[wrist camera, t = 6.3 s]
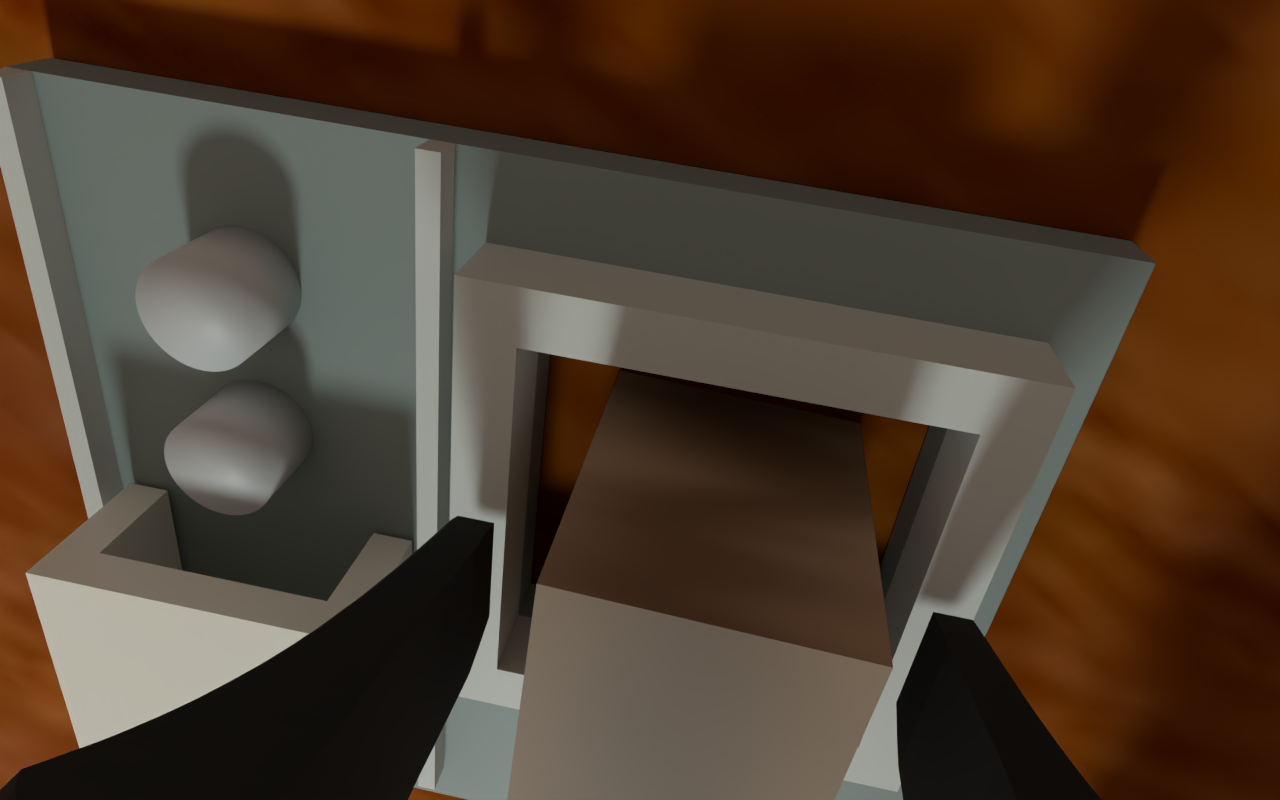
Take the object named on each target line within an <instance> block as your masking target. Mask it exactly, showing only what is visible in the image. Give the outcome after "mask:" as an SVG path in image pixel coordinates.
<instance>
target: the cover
mask: <svg viewBox="0 0 1280 800" xmlns="http://www.w3.org/2000/svg"><path fill="white" fill-rule="evenodd" d="M411 555H412V541H410V540H405V539H401V538H396V537H391V536H386V535H381V534H376V533H373V535H372V536H371V538H370V539H369V541H368V542H367V544H366V545H365V547H364V548H363V549H362V551H361V552H360V554H359V555H358V557H357V558H356V560H355V561H354V563H353V564H352V566H351V567H350V568H349V570H348V571H347V573H346V574H345V576H344V577H343V579H342V580H341V582H340V583H339V585H338V586H337V588H336V589H335V590H334V592H333V593H332V595H331V596H330V598H329V599H328V601H324V600H319V599H314V598H310V597H305V596H300V595H295V594H291V593H286V592H281V591H277V590H272V589H267V588H262V587H258V586H253V585H248V584H244V583H239V582H234V581H229V580H225V579H220V578H215V577H211V576H206V575H201V574H196V573H192V572H187V571H182V566H181V560H180V555H179V550H178V544H177V539H176V533H175V528H174V523H173V517H172V512H171V507H170V501H169V496H168V491H167V490H162V489H157V488H152V487H147V486H142V485H138V484H133V483H130V484H129V485H128V486H127V487H126V488H124V489H123V490H122V491H121V492H120V493H119V494H117V495H116V496H115V497H114V498H113V499H112V500H110V501H109V502H108V503H107V504H106V505H104V506H103V507H102V508H101V509H100V510H99V511H97V512H96V513H95V514H94V515H93V516H92V517H90V518H89V519H88V520H87V521H86V522H84V523H83V524H82V525H81V526H80V527H79V528H77V529H76V530H75V531H74V532H73V533H72V534H70V535H69V536H68V537H67V538H66V539H65V540H63V541H62V542H61V543H60V544H59V545H57V546H56V547H55V548H54V549H53V550H52V551H50V552H49V553H48V554H47V555H46V556H45V557H43V558H42V559H41V560H40V561H39V562H37V563H36V564H35V565H34V566H33V567H32V568H30V569H29V570H28V571H27V572H26V576H27V579H28V583H29V586H30V589H31V592H32V595H33V599H34V602H35V605H36V608H37V612H38V615H39V618H40V621H41V625H42V628H43V631H44V634H45V638H46V641H47V644H48V647H49V651H50V654H51V657H52V660H53V663H54V667H55V670H56V673H57V676H58V680H59V683H60V686H61V689H62V693H63V696H64V699H65V702H66V706H67V709H68V712H69V715H70V719H71V722H72V725H73V728H74V731H75V735H76V738H77V741H78V744H79V748H82V747H85V746H88V745H90V744H93V743H96V742H98V741H101V740H104V739H106V738H109V737H111V736H114V735H116V734H119V733H121V732H124V731H126V730H128V729H131V728H133V727H135V726H138V725H140V724H142V723H145V722H147V721H149V720H152V719H154V718H156V717H159V716H161V715H163V714H165V713H167V712H170V711H172V710H174V709H176V708H178V707H180V706H183V705H185V704H187V703H189V702H191V701H193V700H195V699H197V698H199V697H201V696H203V695H205V694H207V693H209V692H211V691H212V690H214V689H216V688H218V687H220V686H222V685H224V684H226V683H228V682H230V681H231V680H233V679H235V678H237V677H239V676H240V675H242V674H244V673H246V672H248V671H249V670H251V669H253V668H255V667H257V666H258V665H260V664H262V663H263V662H265V661H267V660H268V659H270V658H272V657H273V656H275V655H277V654H278V653H280V652H281V651H283V650H285V649H286V648H288V647H290V646H291V645H293V644H294V643H296V642H297V641H299V640H300V639H302V638H303V637H305V636H306V635H308V634H309V633H311V632H312V631H314V630H315V629H317V628H318V627H320V626H321V625H322V624H324V623H325V622H327V621H328V620H329V619H331V618H332V617H333V616H335V615H336V614H337V613H339V612H340V611H342V610H343V609H344V608H346V607H347V606H348V605H350V604H351V603H353V602H354V601H355V600H357V599H358V598H359V597H361V596H362V595H363V594H365V593H366V592H367V591H368V590H370V589H371V588H372V587H373V586H374V585H376V584H377V583H378V582H379V581H381V580H382V579H383V578H384V577H386V576H387V575H388V574H389V573H391V572H392V571H393V570H394V569H395V568H397V567H398V566H399V565H400V564H401V563H403V562H404V561H405V560H406V559H407V558H408V557H410V556H411Z"/></svg>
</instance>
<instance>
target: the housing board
mask: <svg viewBox="0 0 1280 800" xmlns="http://www.w3.org/2000/svg"><path fill="white" fill-rule="evenodd" d="M0 166H1V170H2V174H3V178H4V182H5V186H6V190H7V194H8V198H9V202H10V206H11V210H12V214H13V218H14V222H15V226H16V230H17V234H18V238H19V242H20V246H21V250H22V254H23V258H24V262H25V266H26V270H27V274H28V278H29V282H30V286H31V290H32V294H33V298H34V302H35V306H36V310H37V314H38V318H39V322H40V326H41V330H42V334H43V338H44V342H45V346H46V350H47V354H48V358H49V362H50V366H51V371H52V375H53V379H54V383H55V387H56V391H57V395H58V399H59V403H60V407H61V411H62V415H63V419H64V423H65V427H66V431H67V435H68V439H69V443H70V447H71V451H72V455H73V459H74V463H75V467H76V471H77V475H78V479H79V483H80V487H81V491H82V495H83V499H84V503H85V507H86V511H87V515H88V519H89V518H90V517H92V516H93V515H94V514H95V513H96V512H97V511H99V510H100V509H101V508H102V507H103V506H104V505H106V504H107V503H108V502H109V501H110V500H112V499H113V498H114V497H115V496H116V495H117V494H119V493H120V492H121V491H122V490H123V489H124V488H126V487H127V486H128V485H129V484H130V483H133V484H138V485H142V486H147V487H152V488H157V489H162V490H167V491H168V496H169V501H170V507H171V512H172V517H173V523H174V528H175V533H176V539H177V544H178V550H179V555H180V560H181V566H182V571H187V572H192V573H196V574H201V575H206V576H211V577H215V578H220V579H225V580H229V581H234V582H239V583H244V584H248V585H253V586H258V587H262V588H267V589H272V590H277V591H281V592H286V593H291V594H295V595H300V596H305V597H310V598H314V599H319V600H324V601H328V599H329V598H330V596H331V595H332V593H333V592H334V590H335V589H336V588H337V586H338V585H339V583H340V582H341V580H342V579H343V577H344V576H345V574H346V573H347V571H348V570H349V568H350V567H351V566H352V564H353V563H354V561H355V560H356V558H357V557H358V555H359V554H360V552H361V551H362V549H363V548H364V547H365V545H366V544H367V542H368V541H369V539H370V538H371V536H372V535H373V533H376V534H381V535H386V536H391V537H396V538H401V539H405V540H410V541H412V554H413V553H414V552H415V551H417V550H418V549H419V548H420V547H421V546H422V545H423V544H424V543H426V542H427V541H428V540H429V539H430V538H431V537H432V536H433V535H435V534H436V533H437V532H438V531H439V530H440V529H441V528H442V527H443V526H444V525H446V524H447V523H448V522H449V521H450V520H451V519H453V518H455V517H456V516H462V517H467V518H472V519H477V520H482V521H487V522H492V523H494V537H493V556H492V575H491V594H490V613H489V619H488V622H487V625H486V628H485V631H484V634H483V637H482V640H481V643H480V645H479V648H478V651H477V654H476V657H475V659H474V662H473V665H472V668H471V671H470V673H469V675H468V678H467V680H466V682H465V684H464V686H463V688H462V690H461V692H460V694H459V696H458V698H457V700H456V702H455V704H454V707H453V709H452V711H451V713H450V715H449V717H448V719H447V721H446V723H445V725H444V727H443V729H442V731H441V733H440V735H439V737H438V739H437V741H436V743H435V745H434V747H433V749H432V751H431V753H430V755H429V757H428V759H427V761H426V763H425V765H424V767H423V769H422V771H421V773H420V776H419V778H418V780H417V782H416V784H415V786H414V787H415V788H419V789H423V790H428V791H432V792H437V793H441V794H445V795H450V796H454V797H459V798H463V799H468V800H507V797H508V790H509V782H510V775H511V768H512V760H513V753H514V746H515V738H516V731H517V724H518V716H519V709H520V702H521V694H522V687H523V680H524V672H525V665H526V658H527V650H528V643H529V636H530V628H531V621H532V614H533V606H534V599H535V592H536V584H534V583H531V576H532V564H533V552H534V540H535V528H536V516H537V504H538V492H539V481H540V469H541V457H542V445H543V433H544V421H545V409H546V397H547V385H548V373H549V361H550V354H552V355H557V356H562V357H568V358H573V359H578V360H584V361H589V362H594V363H600V364H605V365H611V366H616V367H621V368H627V369H632V370H637V371H643V372H648V373H653V374H659V375H664V376H669V377H675V378H680V379H685V380H691V381H696V382H701V383H707V384H712V385H717V386H723V387H728V388H733V389H739V390H744V391H749V392H755V393H760V394H765V395H771V396H776V397H781V398H787V399H792V400H797V401H803V402H808V403H813V404H819V405H824V406H829V407H835V408H840V409H845V410H851V411H856V412H861V413H867V414H872V415H877V416H883V417H888V418H893V419H899V420H904V421H909V422H915V423H920V424H925V425H930V426H929V429H928V431H927V434H926V437H925V440H924V443H923V446H922V448H921V451H920V454H919V457H918V460H917V463H916V465H915V468H914V471H913V474H912V477H911V480H910V482H909V485H908V488H907V491H906V494H905V497H904V500H903V502H902V505H901V508H900V511H899V514H898V517H897V519H896V522H895V525H894V528H893V531H892V534H891V536H890V539H889V542H888V545H887V548H886V551H885V554H884V556H883V559H882V562H881V565H880V574H881V582H882V589H883V596H884V604H885V611H886V618H887V626H888V633H889V641H890V648H891V655H892V663H893V669H892V672H891V674H890V676H889V678H888V681H887V683H886V685H885V687H884V690H883V692H882V694H881V696H880V699H879V701H878V703H877V705H876V708H875V710H874V712H873V714H872V717H871V719H870V721H869V723H868V726H867V728H866V730H865V732H864V735H863V737H862V739H861V741H860V744H859V746H858V748H857V750H856V753H855V755H854V757H853V759H852V762H851V764H850V766H849V768H848V771H847V773H846V775H845V777H844V780H843V782H842V784H841V786H840V789H839V791H838V793H837V795H836V798H835V800H903V795H902V788H901V782H900V775H899V768H898V749H897V713H896V702H897V700H898V697H899V695H900V692H901V690H902V687H903V685H904V682H905V680H906V677H907V675H908V673H909V670H910V668H911V665H912V663H913V660H914V658H915V655H916V653H917V650H918V648H919V646H920V643H921V641H922V638H923V636H924V633H925V631H926V628H927V626H928V623H929V621H930V619H931V616H932V614H933V612H936V613H941V614H946V615H951V616H956V617H961V618H966V619H971V620H974V622H975V623H976V625H977V626H978V628H979V629H980V631H981V632H982V634H983V635H984V637H985V635H986V633H987V631H988V629H989V627H990V625H991V622H992V620H993V618H994V616H995V614H996V611H997V609H998V607H999V605H1000V603H1001V600H1002V598H1003V596H1004V594H1005V592H1006V590H1007V587H1008V585H1009V583H1010V581H1011V579H1012V576H1013V574H1014V572H1015V570H1016V568H1017V566H1018V563H1019V561H1020V559H1021V557H1022V555H1023V552H1024V550H1025V548H1026V546H1027V544H1028V542H1029V539H1030V537H1031V535H1032V533H1033V531H1034V528H1035V526H1036V524H1037V522H1038V520H1039V517H1040V515H1041V513H1042V511H1043V509H1044V507H1045V504H1046V502H1047V500H1048V498H1049V496H1050V493H1051V491H1052V489H1053V487H1054V485H1055V483H1056V480H1057V478H1058V476H1059V474H1060V472H1061V469H1062V467H1063V465H1064V463H1065V461H1066V459H1067V456H1068V454H1069V452H1070V450H1071V448H1072V445H1073V443H1074V441H1075V439H1076V437H1077V434H1078V432H1079V430H1080V428H1081V426H1082V424H1083V421H1084V419H1085V417H1086V415H1087V413H1088V410H1089V408H1090V406H1091V404H1092V402H1093V400H1094V397H1095V395H1096V393H1097V391H1098V389H1099V386H1100V384H1101V382H1102V380H1103V378H1104V376H1105V373H1106V371H1107V369H1108V367H1109V365H1110V362H1111V360H1112V358H1113V356H1114V354H1115V351H1116V349H1117V347H1118V345H1119V343H1120V341H1121V338H1122V336H1123V334H1124V332H1125V330H1126V327H1127V325H1128V323H1129V321H1130V319H1131V317H1132V314H1133V312H1134V310H1135V308H1136V306H1137V303H1138V301H1139V299H1140V297H1141V295H1142V293H1143V290H1144V288H1145V286H1146V284H1147V282H1148V279H1149V277H1150V275H1151V273H1152V271H1153V268H1154V266H1155V264H1156V263H1155V262H1154V261H1153V260H1152V259H1151V258H1149V257H1148V256H1147V255H1146V254H1145V253H1144V252H1143V251H1142V250H1141V249H1140V248H1139V247H1138V246H1137V245H1136V244H1135V243H1134V242H1133V241H1128V240H1122V239H1116V238H1110V237H1104V236H1099V235H1093V234H1087V233H1081V232H1075V231H1069V230H1063V229H1057V228H1051V227H1045V226H1040V225H1034V224H1028V223H1022V222H1016V221H1010V220H1004V219H998V218H992V217H986V216H981V215H975V214H969V213H963V212H957V211H951V210H945V209H939V208H933V207H928V206H922V205H916V204H910V203H904V202H898V201H892V200H886V199H880V198H874V197H869V196H863V195H857V194H851V193H845V192H839V191H833V190H827V189H821V188H815V187H810V186H804V185H798V184H792V183H786V182H780V181H774V180H768V179H762V178H756V177H751V176H745V175H739V174H733V173H727V172H721V171H715V170H709V169H703V168H697V167H692V166H686V165H680V164H674V163H668V162H662V161H656V160H650V159H644V158H638V157H633V156H627V155H621V154H615V153H609V152H603V151H597V150H591V149H585V148H580V147H574V146H568V145H562V144H556V143H550V142H544V141H538V140H532V139H526V138H521V137H515V136H509V135H503V134H497V133H491V132H485V131H479V130H473V129H467V128H462V127H456V126H450V125H444V124H438V123H432V122H426V121H420V120H414V119H408V118H403V117H397V116H391V115H385V114H379V113H373V112H367V111H361V110H355V109H349V108H344V107H338V106H332V105H326V104H320V103H314V102H308V101H302V100H296V99H290V98H285V97H279V96H273V95H267V94H261V93H255V92H249V91H243V90H237V89H232V88H226V87H220V86H214V85H208V84H202V83H196V82H190V81H184V80H178V79H173V78H167V77H161V76H155V75H149V74H143V73H137V72H131V71H125V70H119V69H114V68H108V67H102V66H96V65H90V64H84V63H78V62H72V61H66V60H60V59H55V58H49V59H44V60H38V61H33V62H28V63H22V64H17V65H12V66H6V67H5V68H1V69H0Z"/></svg>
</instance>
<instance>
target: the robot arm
mask: <svg viewBox="0 0 1280 800" xmlns="http://www.w3.org/2000/svg"><path fill="white" fill-rule="evenodd" d="M493 537H494V523H492V522H487V521H482V520H477V519H472V518H467V517H462V516H456V517H455V518H453V519H451V520H450V521H449V522H448V523H447V524H446V525H444V526H443V527H442V528H441V529H440V530H439V531H438V532H437V533H436V534H435V535H433V536H432V537H431V538H430V539H429V540H428V541H427V542H426V543H424V544H423V545H422V546H421V547H420V548H419V549H418V550H417V551H415V552H414V553H413V554H412V555H411V556H410V557H408V558H407V559H406V560H405V561H404V562H403V563H401V564H400V565H399V566H398V567H397V568H395V569H394V570H393V571H392V572H391V573H389V574H388V575H387V576H386V577H384V578H383V579H382V580H381V581H379V582H378V583H377V584H376V585H374V586H373V587H372V588H371V589H370V590H368V591H367V592H366V593H365V594H363V595H362V596H361V597H359V598H358V599H357V600H355V601H354V602H353V603H351V604H350V605H348V606H347V607H346V608H344V609H343V610H342V611H340V612H339V613H337V614H336V615H335V616H333V617H332V618H331V619H329V620H328V621H327V622H325V623H324V624H322V625H321V626H320V627H318V628H317V629H315V630H314V631H312V632H311V633H309V634H308V635H306V636H305V637H303V638H302V639H300V640H299V641H297V642H296V643H294V644H293V645H291V646H290V647H288V648H286V649H285V650H283V651H281V652H280V653H278V654H277V655H275V656H273V657H272V658H270V659H268V660H267V661H265V662H263V663H262V664H260V665H258V666H257V667H255V668H253V669H251V670H249V671H248V672H246V673H244V674H242V675H240V676H239V677H237V678H235V679H233V680H231V681H230V682H228V683H226V684H224V685H222V686H220V687H218V688H216V689H214V690H212V691H211V692H209V693H207V694H205V695H203V696H201V697H199V698H197V699H195V700H193V701H191V702H189V703H187V704H185V705H183V706H180V707H178V708H176V709H174V710H172V711H170V712H167V713H165V714H163V715H161V716H159V717H156V718H154V719H152V720H149V721H147V722H145V723H142V724H140V725H138V726H135V727H133V728H131V729H128V730H126V731H124V732H121V733H119V734H116V735H114V736H111V737H109V738H106V739H104V740H101V741H98V742H96V743H93V744H90V745H88V746H85V747H82V748H79V749H77V750H74V751H71V752H68V753H66V754H63V755H60V756H58V757H55V758H52V759H49V760H47V761H44V762H41V763H38V764H35V765H32V766H29V767H26V768H23V769H21V770H20V771H19V772H18V773H17V774H16V775H15V776H14V777H13V778H12V779H11V780H10V781H9V782H8V783H7V784H6V785H5V786H4V787H3V788H2V789H1V790H0V800H408V798H409V796H410V794H411V792H412V790H413V788H414V786H415V784H416V782H417V780H418V778H419V776H420V773H421V771H422V769H423V767H424V765H425V763H426V761H427V759H428V757H429V755H430V753H431V751H432V749H433V747H434V745H435V743H436V741H437V739H438V737H439V735H440V733H441V731H442V729H443V727H444V725H445V723H446V721H447V719H448V717H449V715H450V713H451V711H452V709H453V707H454V704H455V702H456V700H457V698H458V696H459V694H460V692H461V690H462V688H463V686H464V684H465V682H466V680H467V678H468V675H469V673H470V671H471V668H472V665H473V662H474V659H475V657H476V654H477V651H478V648H479V645H480V643H481V640H482V637H483V634H484V631H485V628H486V625H487V622H488V619H489V613H490V594H491V575H492V556H493ZM896 713H897V749H898V768H899V775H900V782H901V788H902V795H903V800H1101V799H1100V798H1099V797H1098V796H1097V794H1096V793H1095V792H1094V790H1093V789H1092V788H1091V787H1090V785H1089V784H1088V783H1087V782H1086V780H1085V779H1084V778H1083V777H1082V775H1081V774H1080V773H1079V771H1078V770H1077V769H1076V768H1075V766H1074V765H1073V764H1072V763H1071V761H1070V760H1069V759H1068V757H1067V756H1066V755H1065V753H1064V752H1063V751H1062V749H1061V748H1060V747H1059V745H1058V744H1057V743H1056V741H1055V740H1054V738H1053V737H1052V736H1051V734H1050V733H1049V731H1048V730H1047V729H1046V727H1045V726H1044V724H1043V723H1042V722H1041V720H1040V719H1039V717H1038V716H1037V715H1036V713H1035V712H1034V710H1033V709H1032V707H1031V706H1030V704H1029V703H1028V702H1027V700H1026V699H1025V697H1024V696H1023V694H1022V693H1021V691H1020V690H1019V688H1018V687H1017V685H1016V684H1015V682H1014V681H1013V679H1012V678H1011V676H1010V675H1009V673H1008V672H1007V670H1006V669H1005V667H1004V666H1003V664H1002V663H1001V661H1000V660H999V658H998V657H997V655H996V654H995V652H994V650H993V649H992V647H991V646H990V644H989V643H988V641H987V640H986V638H985V637H984V635H983V634H982V632H981V631H980V629H979V628H978V626H977V625H976V623H975V622H974V620H971V619H966V618H961V617H956V616H951V615H946V614H941V613H936V612H933V614H932V616H931V619H930V621H929V623H928V626H927V628H926V631H925V633H924V636H923V638H922V641H921V643H920V646H919V648H918V650H917V653H916V655H915V658H914V660H913V663H912V665H911V668H910V670H909V673H908V675H907V677H906V680H905V682H904V685H903V687H902V690H901V692H900V695H899V697H898V700H897V702H896Z"/></svg>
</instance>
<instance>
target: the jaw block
mask: <svg viewBox="0 0 1280 800" xmlns="http://www.w3.org/2000/svg"><path fill="white" fill-rule="evenodd" d="M892 669H893V663H892V655H891V648H890V641H889V633H888V626H887V618H886V611H885V604H884V596H883V589H882V582H881V574H880V567H879V560H878V552H877V545H876V538H875V530H874V523H873V515H872V508H871V501H870V493H869V486H868V479H867V471H866V464H865V457H864V449H863V442H862V434H861V427H860V423H857V422H852V421H848V420H843V419H839V418H834V417H830V416H825V415H820V414H816V413H811V412H807V411H802V410H798V409H793V408H789V407H784V406H780V405H775V404H770V403H766V402H761V401H757V400H752V399H748V398H743V397H739V396H734V395H729V394H725V393H720V392H716V391H711V390H707V389H702V388H698V387H693V386H689V385H684V384H679V383H675V382H670V381H666V380H661V379H657V378H652V377H648V376H643V375H639V374H634V373H629V372H625V371H619V373H618V376H617V378H616V381H615V384H614V386H613V389H612V391H611V394H610V396H609V399H608V402H607V404H606V407H605V409H604V412H603V414H602V417H601V420H600V422H599V425H598V427H597V430H596V432H595V435H594V438H593V440H592V443H591V445H590V448H589V450H588V453H587V455H586V458H585V461H584V463H583V466H582V468H581V471H580V473H579V476H578V479H577V481H576V484H575V486H574V489H573V491H572V494H571V497H570V499H569V502H568V504H567V507H566V509H565V512H564V515H563V517H562V520H561V522H560V525H559V527H558V530H557V533H556V535H555V538H554V540H553V543H552V545H551V548H550V551H549V553H548V556H547V558H546V561H545V563H544V566H543V569H542V571H541V574H540V576H539V579H538V581H537V584H536V592H535V599H534V606H533V614H532V621H531V628H530V636H529V643H528V650H527V658H526V665H525V672H524V680H523V687H522V694H521V702H520V709H519V716H518V724H517V731H516V738H515V746H514V753H513V760H512V768H511V775H510V782H509V790H508V797H507V800H835V798H836V795H837V793H838V791H839V789H840V786H841V784H842V782H843V780H844V777H845V775H846V773H847V771H848V768H849V766H850V764H851V762H852V759H853V757H854V755H855V753H856V750H857V748H858V746H859V744H860V741H861V739H862V737H863V735H864V732H865V730H866V728H867V726H868V723H869V721H870V719H871V717H872V714H873V712H874V710H875V708H876V705H877V703H878V701H879V699H880V696H881V694H882V692H883V690H884V687H885V685H886V683H887V681H888V678H889V676H890V674H891V672H892Z"/></svg>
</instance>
